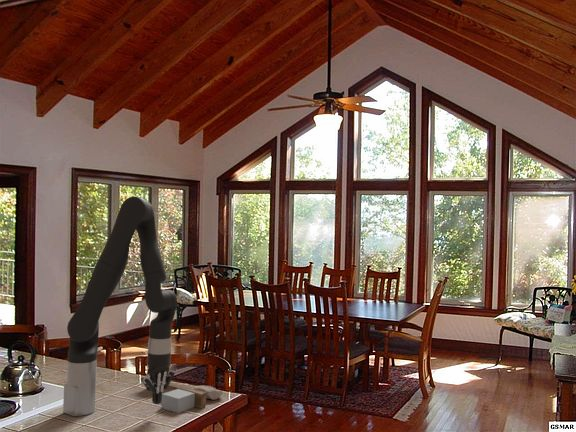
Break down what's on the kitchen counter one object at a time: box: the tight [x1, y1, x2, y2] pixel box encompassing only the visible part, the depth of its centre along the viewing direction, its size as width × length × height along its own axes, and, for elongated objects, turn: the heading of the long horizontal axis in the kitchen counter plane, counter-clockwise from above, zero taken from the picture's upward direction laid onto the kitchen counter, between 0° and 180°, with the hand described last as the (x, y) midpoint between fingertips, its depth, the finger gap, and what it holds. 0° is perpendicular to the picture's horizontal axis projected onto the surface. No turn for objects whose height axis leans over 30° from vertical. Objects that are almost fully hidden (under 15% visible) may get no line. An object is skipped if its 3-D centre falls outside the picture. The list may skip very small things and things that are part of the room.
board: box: [162, 382, 207, 409], centre depth 208 cm, size 2×19×5 cm, turn 56°
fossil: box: [193, 385, 223, 401], centre depth 214 cm, size 9×6×10 cm
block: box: [160, 389, 196, 414], centre depth 203 cm, size 8×8×5 cm
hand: (156, 403), depth 192 cm, fingers closed
